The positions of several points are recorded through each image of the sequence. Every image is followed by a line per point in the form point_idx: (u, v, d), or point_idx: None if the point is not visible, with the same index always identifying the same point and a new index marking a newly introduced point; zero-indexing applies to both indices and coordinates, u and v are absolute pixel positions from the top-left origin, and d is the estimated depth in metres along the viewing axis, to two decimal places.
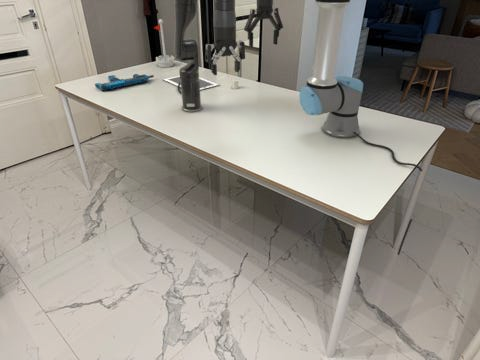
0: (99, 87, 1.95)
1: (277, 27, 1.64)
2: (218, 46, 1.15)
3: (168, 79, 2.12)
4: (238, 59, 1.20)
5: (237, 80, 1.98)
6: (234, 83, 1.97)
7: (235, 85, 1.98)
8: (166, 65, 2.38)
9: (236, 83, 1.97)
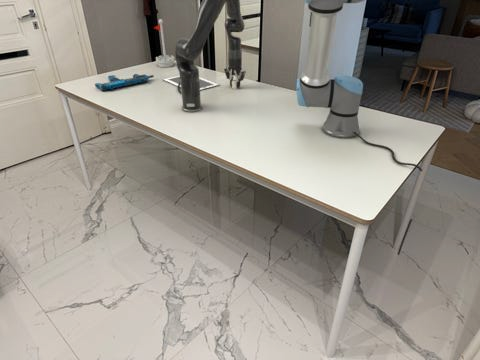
0: (99, 87, 1.95)
1: None
2: (229, 68, 1.95)
3: (168, 79, 2.12)
4: (237, 80, 1.96)
5: None
6: (234, 83, 1.97)
7: (235, 85, 1.98)
8: (166, 65, 2.38)
9: (236, 83, 1.97)
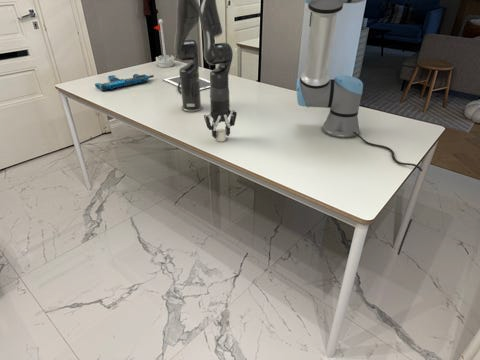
0: (99, 87, 1.95)
1: None
2: None
3: (168, 79, 2.12)
4: None
5: (219, 131, 1.39)
6: None
7: None
8: (166, 65, 2.38)
9: None
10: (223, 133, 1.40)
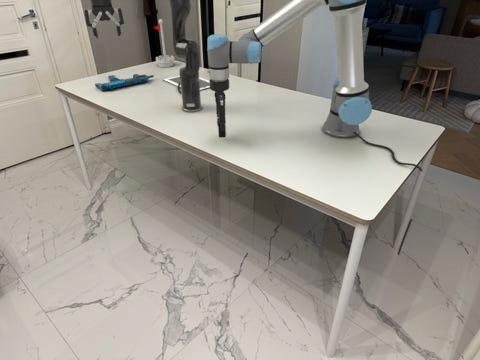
0: (99, 87, 1.95)
1: None
2: None
3: (168, 79, 2.12)
4: None
5: None
6: None
7: None
8: (166, 65, 2.38)
9: (217, 128, 1.40)
10: None
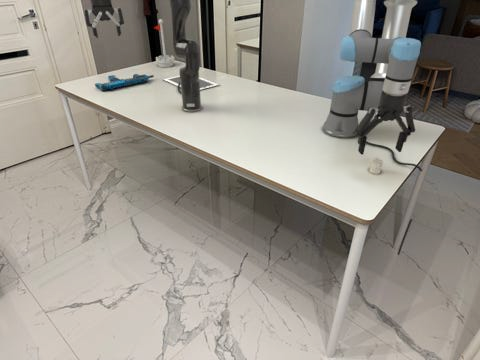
0: (99, 87, 1.95)
1: (363, 130, 1.14)
2: None
3: (168, 79, 2.12)
4: None
5: (381, 161, 1.19)
6: (374, 165, 1.19)
7: (375, 168, 1.19)
8: (166, 65, 2.38)
9: (377, 166, 1.18)
10: None
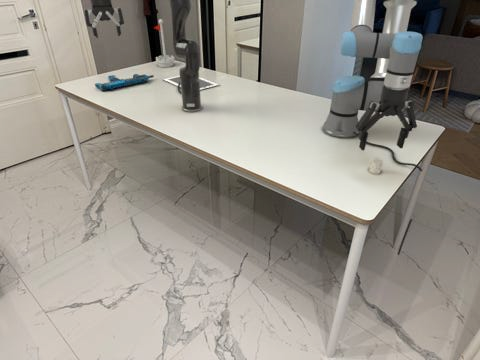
0: (99, 87, 1.95)
1: None
2: None
3: (168, 79, 2.12)
4: None
5: (381, 161, 1.19)
6: (374, 165, 1.19)
7: (375, 168, 1.19)
8: (166, 65, 2.38)
9: (377, 166, 1.18)
10: None
